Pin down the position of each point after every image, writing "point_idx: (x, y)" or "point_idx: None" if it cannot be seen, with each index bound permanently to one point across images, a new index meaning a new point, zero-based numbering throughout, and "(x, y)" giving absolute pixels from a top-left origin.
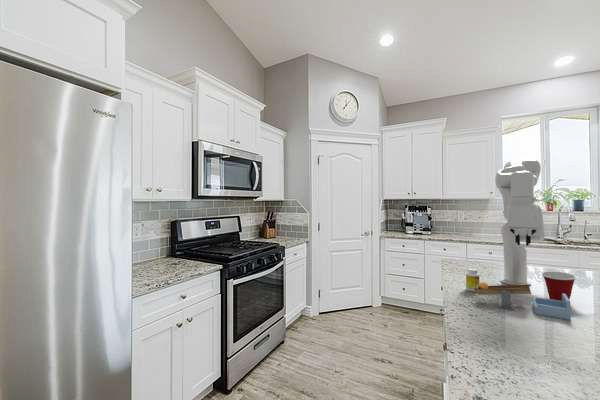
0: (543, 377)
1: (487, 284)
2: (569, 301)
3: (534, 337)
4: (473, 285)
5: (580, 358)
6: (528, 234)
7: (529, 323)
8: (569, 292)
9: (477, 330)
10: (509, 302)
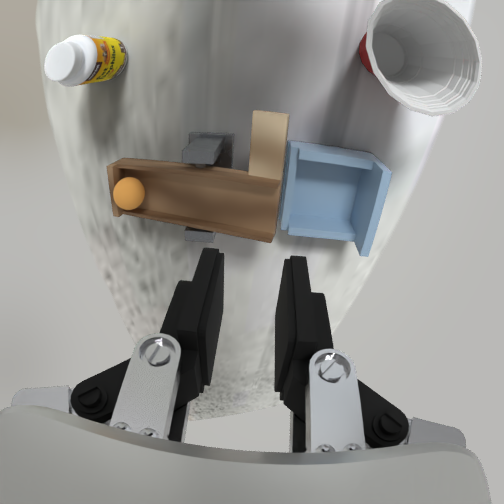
0: (246, 400)
1: (137, 198)
2: (366, 255)
3: (253, 335)
4: (99, 81)
5: None
6: (298, 411)
7: (255, 283)
8: (423, 83)
9: None
10: None
